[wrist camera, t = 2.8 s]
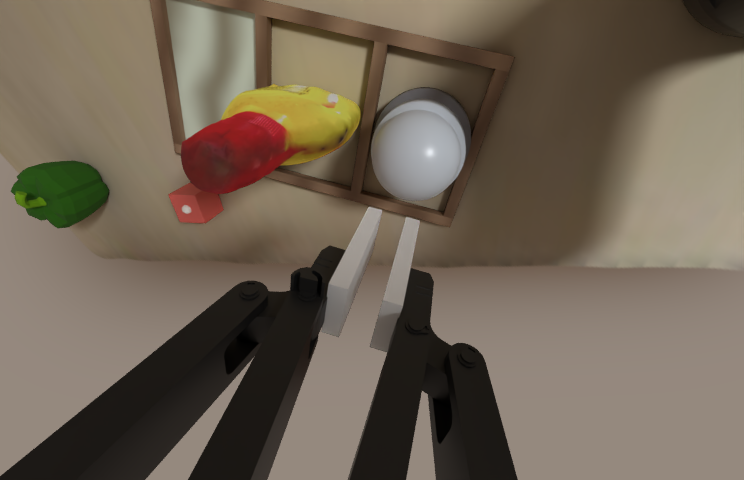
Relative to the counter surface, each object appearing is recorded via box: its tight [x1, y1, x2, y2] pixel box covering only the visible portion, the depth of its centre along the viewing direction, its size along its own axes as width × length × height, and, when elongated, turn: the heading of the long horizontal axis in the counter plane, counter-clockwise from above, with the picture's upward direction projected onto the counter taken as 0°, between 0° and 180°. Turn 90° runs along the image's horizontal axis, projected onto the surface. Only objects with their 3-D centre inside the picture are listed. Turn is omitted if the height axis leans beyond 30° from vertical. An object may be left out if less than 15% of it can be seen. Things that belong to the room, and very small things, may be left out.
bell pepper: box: [11, 161, 109, 228], centre depth 44 cm, size 8×8×10 cm
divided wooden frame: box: [150, 0, 515, 227], centre depth 35 cm, size 36×18×2 cm, turn 79°
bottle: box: [181, 84, 361, 194], centre depth 27 cm, size 12×6×20 cm, turn 86°
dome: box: [371, 99, 466, 201], centre depth 29 cm, size 9×9×8 cm
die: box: [168, 183, 224, 223], centre depth 43 cm, size 4×4×5 cm
